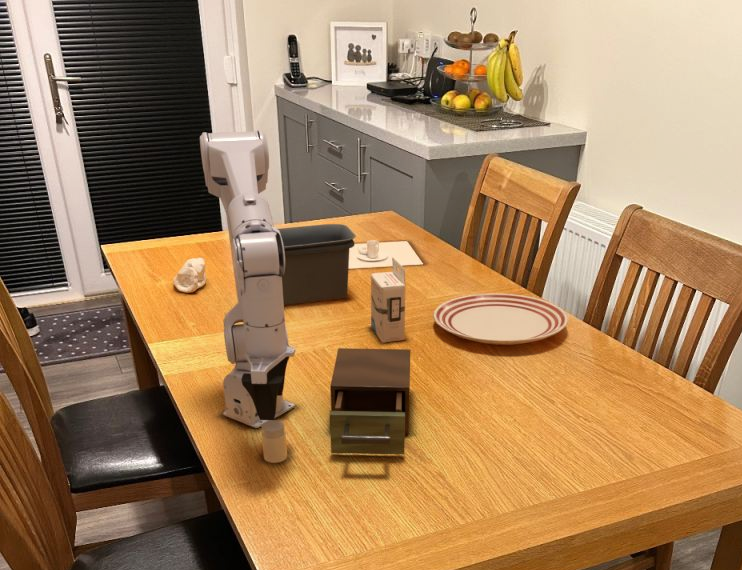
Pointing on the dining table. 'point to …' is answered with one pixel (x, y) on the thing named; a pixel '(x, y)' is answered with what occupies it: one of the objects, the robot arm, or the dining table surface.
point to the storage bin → (316, 262)
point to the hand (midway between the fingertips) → (271, 406)
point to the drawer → (368, 422)
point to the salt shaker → (274, 441)
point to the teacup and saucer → (381, 254)
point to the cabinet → (373, 373)
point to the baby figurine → (191, 275)
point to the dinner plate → (500, 318)
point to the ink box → (388, 304)
